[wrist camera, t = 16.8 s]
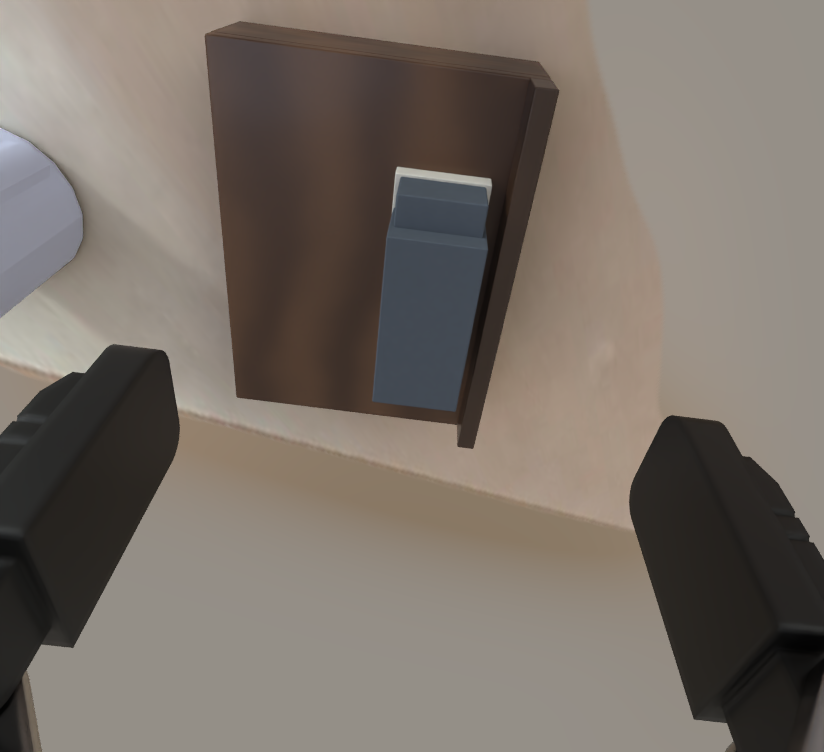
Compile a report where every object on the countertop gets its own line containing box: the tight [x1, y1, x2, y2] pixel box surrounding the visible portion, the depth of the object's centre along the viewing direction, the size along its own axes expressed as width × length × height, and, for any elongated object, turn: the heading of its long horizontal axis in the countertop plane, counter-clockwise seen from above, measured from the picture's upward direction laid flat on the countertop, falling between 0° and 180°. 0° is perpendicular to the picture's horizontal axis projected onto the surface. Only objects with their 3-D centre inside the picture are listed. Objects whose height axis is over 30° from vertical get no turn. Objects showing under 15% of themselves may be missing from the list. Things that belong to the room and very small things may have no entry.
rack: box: [205, 21, 559, 449], centre depth 32 cm, size 15×20×7 cm
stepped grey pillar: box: [372, 167, 492, 412], centre depth 29 cm, size 11×4×4 cm, turn 174°
